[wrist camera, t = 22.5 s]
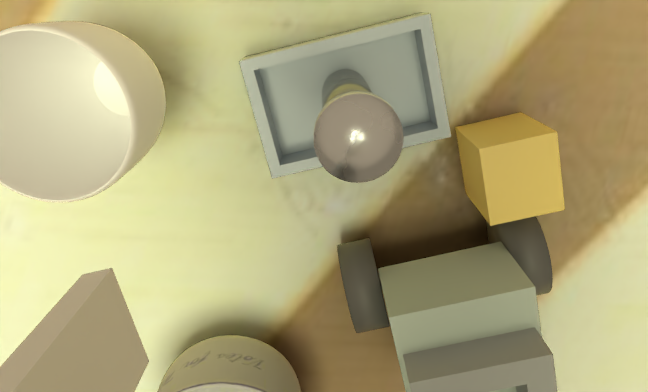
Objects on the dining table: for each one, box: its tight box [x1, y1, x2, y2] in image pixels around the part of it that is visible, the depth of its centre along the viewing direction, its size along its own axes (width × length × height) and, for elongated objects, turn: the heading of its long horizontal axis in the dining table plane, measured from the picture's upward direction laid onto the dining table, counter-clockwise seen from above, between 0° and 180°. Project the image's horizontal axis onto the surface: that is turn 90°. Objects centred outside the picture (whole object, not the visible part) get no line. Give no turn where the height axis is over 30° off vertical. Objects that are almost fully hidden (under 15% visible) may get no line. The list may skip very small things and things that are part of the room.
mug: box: [0, 21, 166, 202], centre depth 31 cm, size 12×8×11 cm
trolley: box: [337, 216, 557, 392], centre depth 35 cm, size 13×12×12 cm
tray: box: [239, 13, 451, 178], centre depth 35 cm, size 11×7×3 cm, turn 104°
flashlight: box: [313, 69, 404, 183], centre depth 30 cm, size 4×4×13 cm
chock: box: [455, 112, 565, 226], centre depth 35 cm, size 4×5×6 cm
